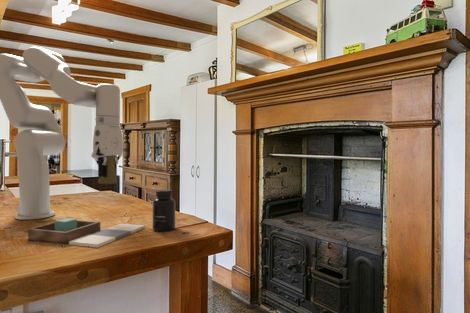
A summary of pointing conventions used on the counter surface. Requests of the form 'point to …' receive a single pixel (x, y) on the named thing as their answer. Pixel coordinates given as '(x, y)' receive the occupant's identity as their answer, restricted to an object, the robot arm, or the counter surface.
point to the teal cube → (65, 224)
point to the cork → (109, 171)
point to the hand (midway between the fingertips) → (107, 175)
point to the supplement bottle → (163, 211)
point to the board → (106, 235)
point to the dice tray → (50, 235)
